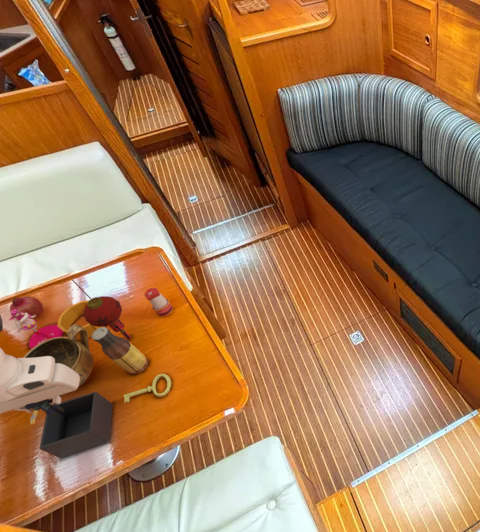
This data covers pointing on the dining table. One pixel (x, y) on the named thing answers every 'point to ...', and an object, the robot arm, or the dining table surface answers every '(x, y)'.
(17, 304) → the fruit
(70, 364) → the ceramic bowl
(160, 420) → the dining table surface
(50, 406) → the character figure
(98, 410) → the bin
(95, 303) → the lantern
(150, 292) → the toy
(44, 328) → the figurine
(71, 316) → the toy bowl
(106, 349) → the sauce bottle
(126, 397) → the key
